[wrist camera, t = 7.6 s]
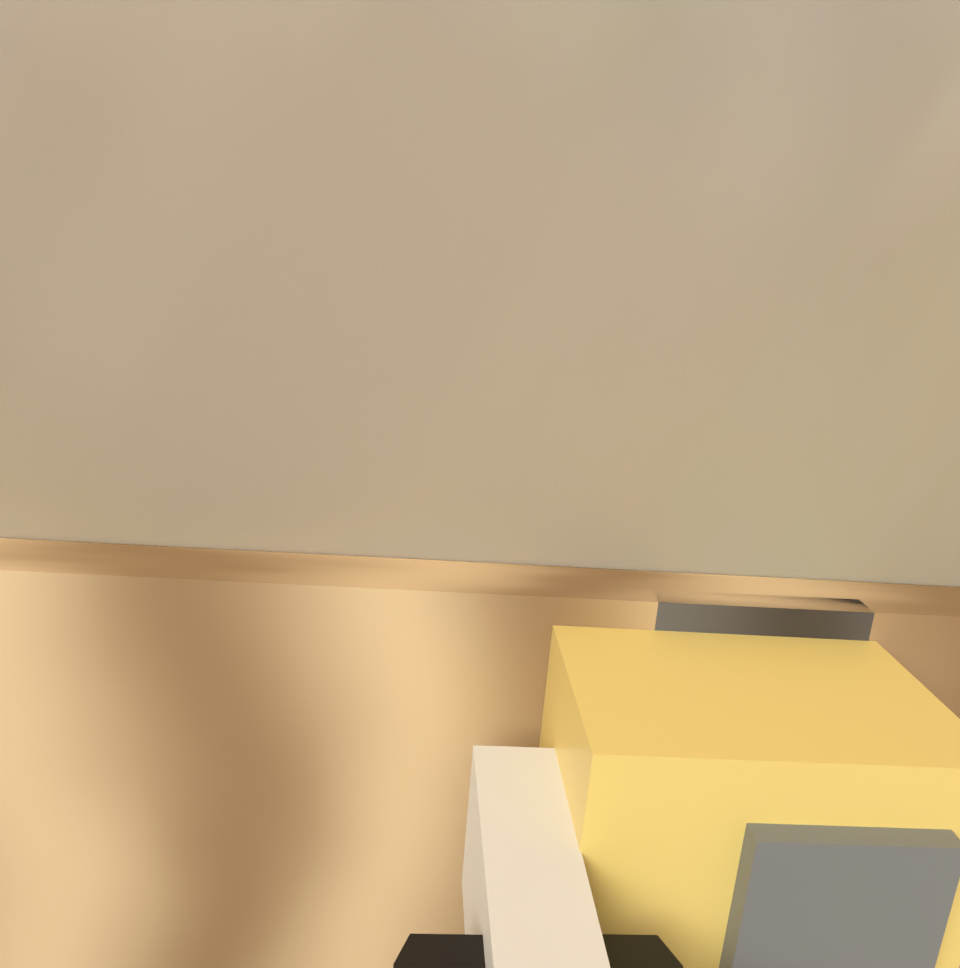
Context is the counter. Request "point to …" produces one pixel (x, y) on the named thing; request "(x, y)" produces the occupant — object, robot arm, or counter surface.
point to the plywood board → (309, 733)
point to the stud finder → (760, 796)
